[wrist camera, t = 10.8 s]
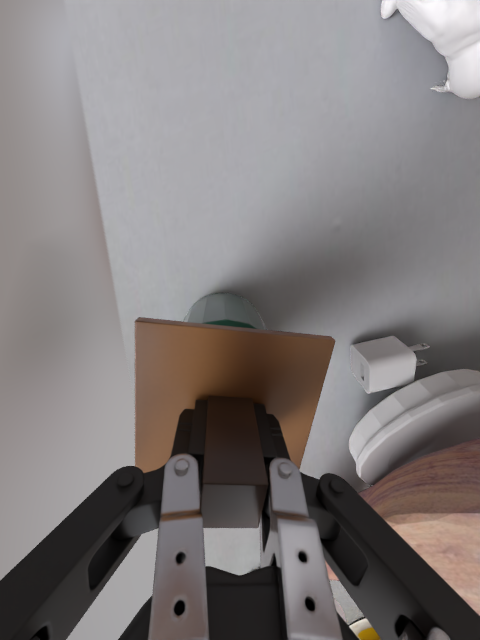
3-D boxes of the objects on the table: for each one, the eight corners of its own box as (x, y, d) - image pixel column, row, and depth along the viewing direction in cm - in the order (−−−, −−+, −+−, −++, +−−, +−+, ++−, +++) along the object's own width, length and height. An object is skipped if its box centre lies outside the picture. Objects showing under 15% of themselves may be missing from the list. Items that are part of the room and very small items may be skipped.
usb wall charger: (350, 342, 27) (370, 364, 23) (415, 327, 27) (445, 348, 23) (350, 371, 29) (369, 396, 25) (411, 357, 28) (439, 381, 25)
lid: (444, 452, 36) (462, 474, 34) (321, 467, 31) (333, 495, 28) (545, 364, 27) (581, 386, 24) (395, 363, 21) (422, 392, 19)
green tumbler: (211, 378, 27) (209, 433, 20) (167, 319, 25) (144, 358, 17) (275, 341, 27) (298, 385, 19) (236, 276, 24) (244, 298, 16)
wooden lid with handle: (137, 468, 16) (96, 590, 10) (138, 316, 12) (78, 381, 7) (293, 473, 17) (327, 585, 11) (331, 335, 14) (402, 403, 8)
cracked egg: (405, 619, 48) (410, 630, 47) (375, 647, 52) (379, 658, 50) (357, 614, 46) (361, 626, 45) (329, 644, 50) (332, 655, 48)
